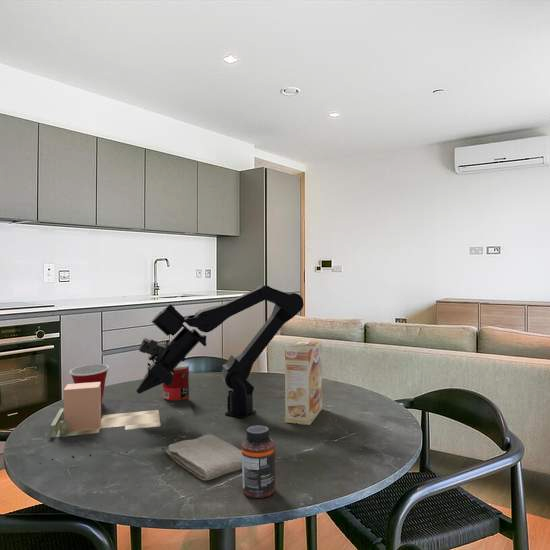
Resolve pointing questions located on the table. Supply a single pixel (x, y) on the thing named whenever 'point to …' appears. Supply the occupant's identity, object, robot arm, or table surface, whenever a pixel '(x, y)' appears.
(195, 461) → the washcloth
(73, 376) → the plastic cup
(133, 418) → the trap board
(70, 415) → the block
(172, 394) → the canned food
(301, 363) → the coffeecake box
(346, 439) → the table surface
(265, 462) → the supplement bottle
